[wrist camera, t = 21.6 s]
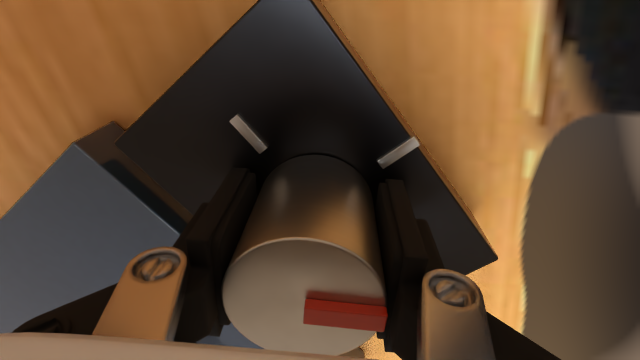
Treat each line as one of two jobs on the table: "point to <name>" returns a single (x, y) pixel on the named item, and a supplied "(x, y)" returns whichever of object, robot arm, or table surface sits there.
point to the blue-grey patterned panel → (87, 232)
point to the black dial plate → (293, 122)
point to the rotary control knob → (308, 262)
